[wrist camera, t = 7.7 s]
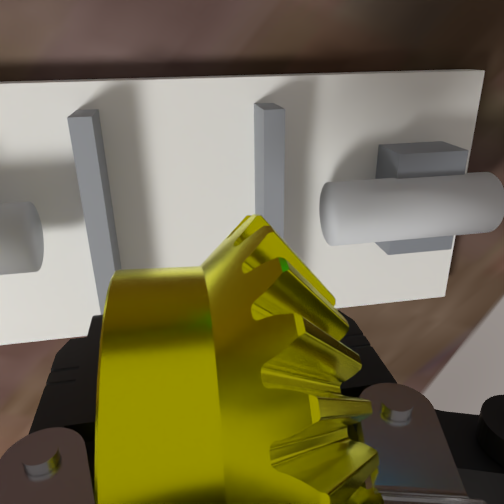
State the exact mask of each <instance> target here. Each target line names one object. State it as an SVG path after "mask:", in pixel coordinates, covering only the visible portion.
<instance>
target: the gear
mask: <svg viewBox="0 0 504 504" xmlns="http://www.w3.org/2000/svg"><path fill="white" fill-rule="evenodd" d="M335 304H336V299H335V297H334V296H333V294H332V293H331V292H330V291H329V290H328V289H327V288H326V287H325V285H324V284H323V283H322V282H321V281H320V280H319V279H318V278H317V276H316V275H315V274H314V273H313V272H312V271H311V270H310V269H309V268H308V266H307V265H306V264H305V263H304V262H303V261H302V260H301V259H300V258H299V256H298V255H297V254H296V253H295V252H294V251H293V250H292V249H291V248H290V246H289V245H288V244H287V243H286V242H285V241H284V240H283V239H282V238H281V236H280V235H279V234H278V233H277V232H276V231H275V230H274V229H273V228H272V226H271V225H270V224H269V223H268V222H267V221H266V220H265V219H264V218H263V216H262V215H260V214H253V215H252V216H251V215H247V216H245V217H244V219H243V220H242V221H241V222H240V223H239V224H238V225H237V226H236V228H235V229H234V230H233V231H232V232H231V233H230V234H229V235H228V236H227V237H226V238H225V239H224V240H223V241H222V243H221V244H220V245H219V246H218V247H217V248H216V249H215V250H214V251H213V252H212V253H211V254H210V256H209V257H208V258H207V259H206V260H205V261H204V262H203V263H202V264H201V265H200V266H189V267H167V268H144V269H121V270H116V271H115V272H114V274H113V276H112V277H111V279H110V283H109V287H108V290H107V295H106V300H105V306H104V312H103V320H102V329H101V337H100V348H99V361H98V374H97V394H96V417H95V504H370V500H369V495H368V490H367V489H365V488H364V487H362V486H361V485H362V484H363V483H364V481H365V480H366V479H367V478H368V477H369V476H370V475H371V474H372V473H373V472H374V471H375V469H376V468H377V467H378V466H379V454H378V452H377V450H376V449H374V448H372V447H370V446H368V445H366V444H363V443H361V442H358V441H353V440H351V439H350V438H349V437H348V432H347V427H348V426H349V425H351V424H355V423H358V422H360V421H362V420H364V419H366V418H368V417H370V416H371V415H372V414H373V411H372V406H371V401H369V400H366V399H363V398H357V397H349V396H343V395H342V394H341V390H340V385H341V383H343V382H344V381H346V380H348V379H349V378H351V377H352V376H354V375H355V374H356V373H357V372H358V371H359V370H361V367H362V363H361V360H360V356H359V355H358V354H357V353H355V352H354V351H352V350H351V349H349V348H348V347H346V346H345V345H343V344H342V343H340V342H339V341H340V340H341V339H342V338H343V337H344V336H345V335H346V333H347V332H348V331H349V325H348V322H347V320H346V319H345V318H344V317H343V316H342V315H341V314H340V313H339V312H338V311H337V310H336V309H335V308H334V305H335Z"/></svg>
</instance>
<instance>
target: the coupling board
mask: <svg viewBox="0 0 504 504" xmlns="http://www.w3.org/2000/svg"><path fill="white" fill-rule="evenodd" d="M484 73H485V70H473V69H453V70H416V71H379V72H341V73H304V74H266V75H229V76H192V77H154V78H117V79H79V80H42V81H4V82H0V345H6V344H15V343H24V342H33V341H42V340H51V339H61V338H70V337H79V336H87V335H88V331H89V327H90V323H91V320H92V317H93V316H94V315H103V312H104V306H105V300H106V295H107V290H108V287H109V283H110V279H111V277H112V276H113V274H114V272H115V271H116V270H121V269H144V268H167V267H189V266H200V265H201V264H202V263H203V262H204V261H205V260H206V259H207V258H208V257H209V256H210V254H211V253H212V252H213V251H214V250H215V249H216V248H217V247H218V246H219V245H220V244H221V243H222V241H223V240H224V239H225V238H226V237H227V236H228V235H229V234H230V233H231V232H232V231H233V230H234V229H235V228H236V226H237V225H238V224H239V223H240V222H241V221H242V220H243V219H244V217H245V216H247V215H251V216H252V215H253V214H260V215H262V216H263V218H264V219H265V220H266V221H267V222H268V223H269V224H270V225H271V226H272V228H273V229H274V230H275V231H276V232H277V233H278V234H279V235H280V236H281V238H282V239H283V240H284V241H285V242H286V243H287V244H288V245H289V246H290V248H291V249H292V250H293V251H294V252H295V253H296V254H297V255H298V256H299V258H300V259H301V260H302V261H303V262H304V263H305V264H306V265H307V266H308V268H309V269H310V270H311V271H312V272H313V273H314V274H315V275H316V276H317V278H318V279H319V280H320V281H321V282H322V283H323V284H324V285H325V287H326V288H327V289H328V290H329V291H330V292H331V293H332V294H333V296H334V297H335V299H336V304H335V305H334V308H343V307H352V306H362V305H371V304H380V303H389V302H398V301H407V300H416V299H425V298H435V297H444V296H445V292H446V286H447V280H448V275H449V269H450V264H451V258H452V252H453V247H454V241H455V236H456V235H463V234H475V233H486V232H491V231H493V230H495V229H496V228H497V227H498V226H499V225H500V223H501V221H502V219H503V217H504V188H503V186H502V184H501V182H500V180H499V179H498V178H497V177H496V176H495V175H494V174H492V173H490V172H475V173H467V168H468V163H469V157H470V152H471V146H472V141H473V135H474V129H475V124H476V118H477V113H478V107H479V101H480V96H481V90H482V85H483V79H484Z"/></svg>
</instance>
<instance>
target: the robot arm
mask: <svg viewBox="0 0 504 504" xmlns="http://www.w3.org/2000/svg"><path fill="white" fill-rule="evenodd" d="M337 311H338V312H339V313H340V314H341V315H342V316H343V317H344V318H345V319H346V320H347V322H348V325H349V331H348V332H347V333H346V335H345V336H344V337H343V338H342V339H341V340H340V341H339V342H340V343H342V344H343V345H345V346H346V347H348V348H349V349H351V350H352V351H354V352H355V353H357V354H358V355H359V356H360V360H361V363H362V367H361V370H359V371H358V372H357V373H356V374H355V375H354V376H352V377H351V378H349V379H348V380H346V381H344V382H343V383H341V385H340V390H341V394H342V395H343V396H349V397H357V398H363V399H366V400H369V401H371V406H372V411H373V414H372V415H371V416H370V417H368V418H366V419H364V420H362V421H360V422H358V423H355V424H351V425H349V426H348V427H347V432H348V437H349V438H350V439H351V440H353V441H358V442H361V443H363V444H366V445H368V446H370V447H372V448H374V449H376V450H377V452H378V454H379V466H378V467H377V468H376V469H375V471H374V472H373V473H372V474H371V475H370V476H369V477H368V478H367V479H366V480H365V481H364V483H363V484H362V485H361V486H362V487H364V488H365V489H367V490H368V495H369V500H370V504H504V395H497V396H493V397H491V398H489V399H487V400H486V401H485V402H484V403H483V405H482V408H481V411H480V415H472V414H463V413H454V412H445V411H440V410H436V409H434V408H433V406H432V404H431V403H430V401H429V400H428V399H427V398H426V397H425V396H424V395H422V394H421V393H420V392H418V391H416V390H414V389H412V388H410V387H408V386H404V385H401V384H397V382H396V381H395V379H394V378H393V376H392V375H391V373H390V372H389V371H388V369H387V368H386V366H385V365H384V363H383V362H382V360H381V359H380V357H379V356H378V355H377V353H376V352H375V350H374V349H373V347H371V346H370V343H369V341H368V340H367V339H366V337H365V336H363V333H362V331H361V330H360V328H359V327H358V326H357V324H356V323H355V321H354V320H353V319H351V318H349V317H348V316H346V315H345V314H343V313H342V312H340V311H339V310H337ZM102 320H103V315H94V316H93V317H92V320H91V323H90V327H89V331H88V335H87V337H85V338H76V339H70V340H69V341H68V342H67V343H66V344H65V345H64V346H63V347H62V348H61V349H60V350H59V352H58V353H57V354H56V356H55V359H54V362H53V365H52V368H51V373H50V374H49V376H48V379H47V382H46V386H45V388H44V391H43V394H42V397H41V400H40V403H39V406H38V408H37V411H36V414H35V417H34V420H33V423H32V426H31V429H30V432H29V435H27V436H25V437H24V438H22V439H20V440H19V441H17V442H16V443H15V444H13V445H12V446H11V447H10V448H9V449H8V450H7V451H6V452H5V453H4V455H3V456H2V457H1V459H0V504H95V417H96V394H97V374H98V361H99V348H100V337H101V329H102Z"/></svg>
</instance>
